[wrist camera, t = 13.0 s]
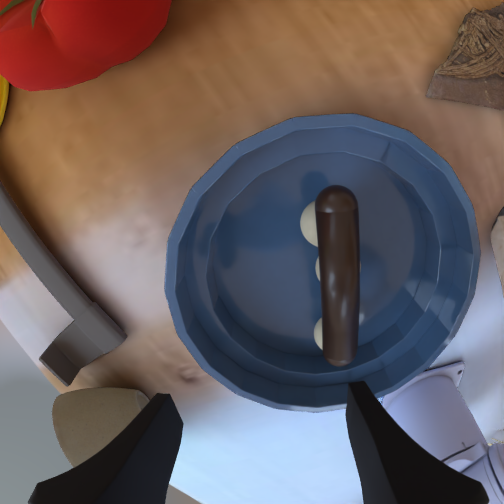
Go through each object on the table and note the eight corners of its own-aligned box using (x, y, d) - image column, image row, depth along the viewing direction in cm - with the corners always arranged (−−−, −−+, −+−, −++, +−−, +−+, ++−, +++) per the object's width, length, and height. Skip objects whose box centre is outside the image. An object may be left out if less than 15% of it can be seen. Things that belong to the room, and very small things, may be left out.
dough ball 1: (315, 260, 17) (347, 233, 17) (329, 253, 14) (365, 222, 15) (286, 224, 17) (319, 198, 18) (296, 210, 15) (333, 182, 15)
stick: (353, 349, 17) (359, 371, 15) (320, 353, 18) (324, 375, 16) (351, 180, 14) (361, 186, 12) (310, 184, 14) (315, 190, 12)
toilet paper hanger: (-41, 147, 13) (-16, 141, 16) (-63, 216, 16) (-43, 206, 18) (114, 357, 19) (129, 333, 21) (67, 387, 21) (81, 366, 24)
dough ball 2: (352, 317, 20) (364, 348, 18) (318, 333, 20) (327, 365, 19) (340, 298, 18) (353, 332, 16) (303, 316, 19) (312, 350, 17)
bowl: (428, 348, 21) (450, 384, 17) (216, 376, 23) (206, 418, 18) (440, 119, 15) (482, 117, 11) (163, 144, 17) (131, 146, 13)
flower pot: (123, 348, 26) (64, 376, 24) (117, 401, 16) (40, 434, 14) (175, 423, 28) (120, 447, 26) (193, 487, 18) (122, 512, 16)
